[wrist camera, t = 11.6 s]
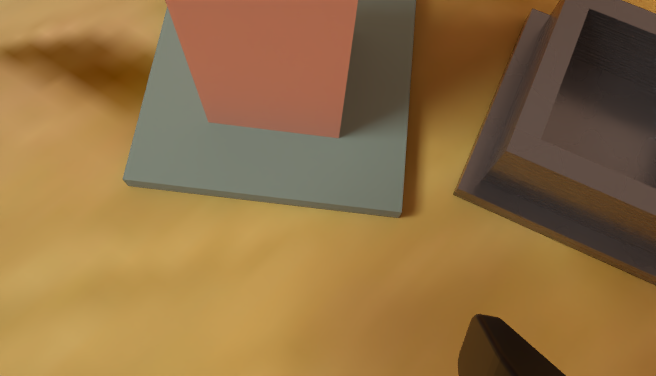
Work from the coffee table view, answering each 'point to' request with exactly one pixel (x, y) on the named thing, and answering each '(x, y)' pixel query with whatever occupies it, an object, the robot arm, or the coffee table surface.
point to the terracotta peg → (269, 60)
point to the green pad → (285, 147)
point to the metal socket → (576, 134)
